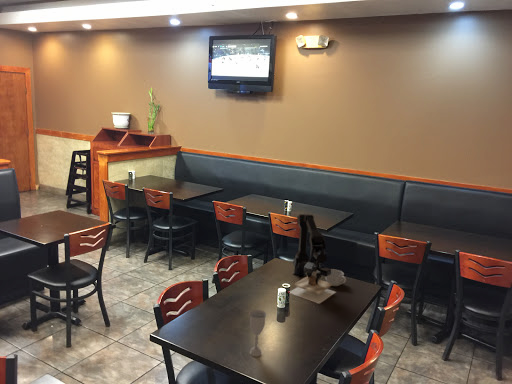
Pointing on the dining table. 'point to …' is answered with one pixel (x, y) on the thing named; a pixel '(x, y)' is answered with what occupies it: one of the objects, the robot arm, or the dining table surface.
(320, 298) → the mat
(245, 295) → the dining table surface
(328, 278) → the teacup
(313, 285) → the lid
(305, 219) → the robot arm
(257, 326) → the chalice
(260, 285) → the dining table surface
